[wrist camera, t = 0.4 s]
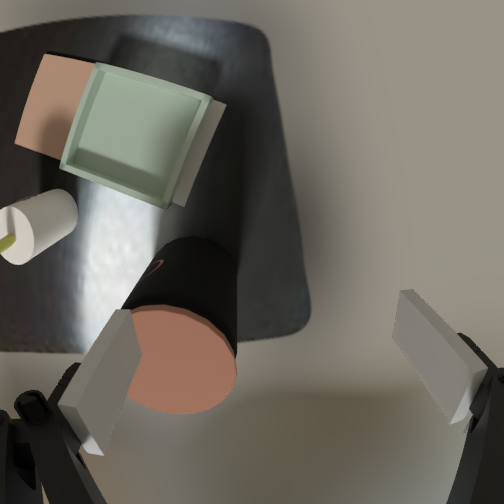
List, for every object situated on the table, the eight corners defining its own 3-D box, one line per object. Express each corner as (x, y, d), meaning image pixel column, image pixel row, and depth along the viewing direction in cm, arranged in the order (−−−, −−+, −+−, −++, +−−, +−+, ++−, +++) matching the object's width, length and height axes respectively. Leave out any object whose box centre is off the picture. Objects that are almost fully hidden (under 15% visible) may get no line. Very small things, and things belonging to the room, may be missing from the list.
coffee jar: (166, 221, 37) (112, 287, 20) (249, 251, 39) (259, 338, 22) (144, 295, 40) (95, 389, 23) (220, 322, 42) (212, 427, 25)
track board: (16, 143, 32) (14, 143, 31) (46, 54, 28) (44, 53, 28) (184, 206, 36) (183, 207, 36) (226, 105, 33) (226, 104, 32)
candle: (71, 181, 34) (-4, 208, 20) (83, 230, 37) (17, 277, 22) (35, 193, 35) (-40, 223, 20) (47, 239, 37) (-20, 285, 23)
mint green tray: (76, 164, 33) (58, 168, 29) (110, 69, 30) (96, 61, 26) (173, 202, 35) (165, 209, 31) (214, 101, 32) (211, 96, 28)
